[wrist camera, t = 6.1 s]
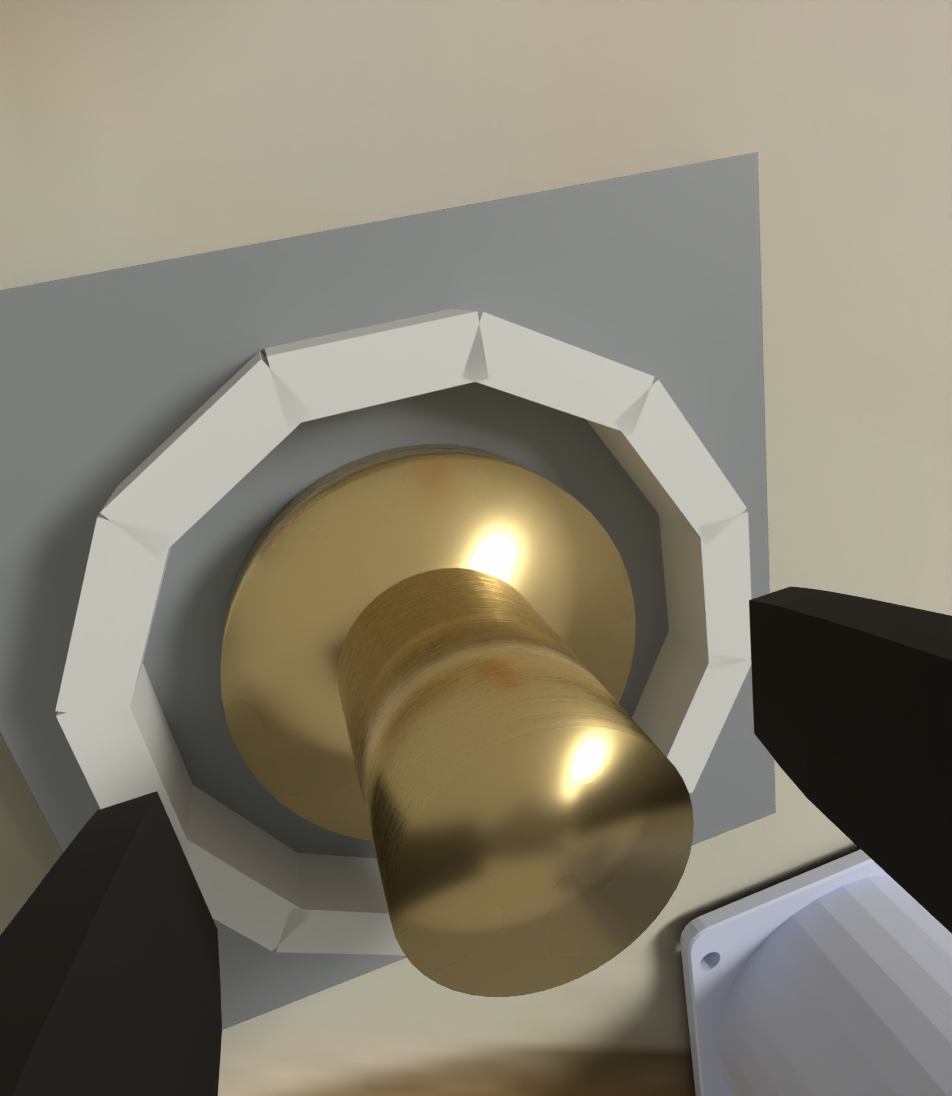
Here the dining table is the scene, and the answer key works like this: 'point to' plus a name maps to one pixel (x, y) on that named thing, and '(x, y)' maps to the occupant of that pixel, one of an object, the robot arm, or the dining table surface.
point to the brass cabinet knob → (460, 711)
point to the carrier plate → (347, 435)
